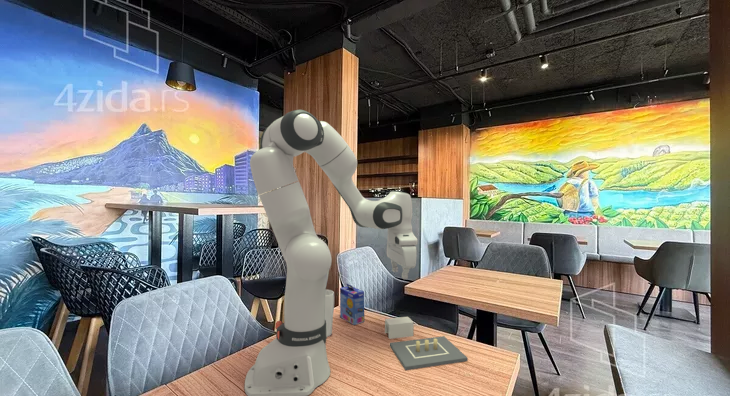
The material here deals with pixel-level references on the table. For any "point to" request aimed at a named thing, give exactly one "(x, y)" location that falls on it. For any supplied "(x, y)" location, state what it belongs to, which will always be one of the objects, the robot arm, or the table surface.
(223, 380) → the table surface
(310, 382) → the robot arm
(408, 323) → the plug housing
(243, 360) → the table surface
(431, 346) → the board
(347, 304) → the ink cartridge box
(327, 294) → the drinking glass
